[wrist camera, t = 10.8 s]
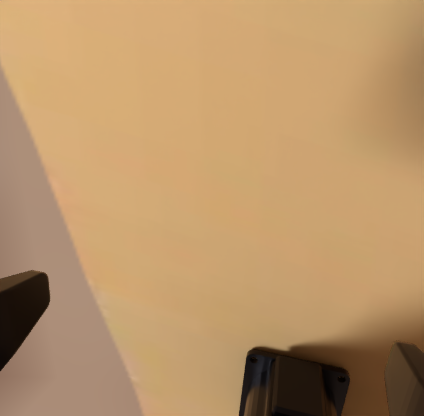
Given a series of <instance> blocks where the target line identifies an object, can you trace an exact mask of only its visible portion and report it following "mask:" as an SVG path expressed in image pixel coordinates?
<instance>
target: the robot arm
mask: <svg viewBox="0 0 424 416" xmlns="http://www.w3.org/2000/svg"><path fill="white" fill-rule="evenodd" d="M49 302H50V290H49V281H48V276H47V274H46V273H44V272H40V271H34V270H31V271H27V272H23V273H19V274H16V275H12V276H9V277H5V278H1V279H0V371H1V370H2V369H3V368H4V366H5V365H6V364H7V363H8V362H9V360H10V359H11V358H12V357H13V355H14V354H15V353H16V351H17V350H18V349H19V347H20V346H21V345H22V343H23V342H24V340H25V339H26V337H27V336H28V335H29V333H30V332H31V330H32V329H33V327H34V326H35V325H36V323H37V322H38V320H39V319H40V317H41V316H42V315H43V313H44V312H45V310H46V309H47V307H48V305H49ZM252 357H255V358H257V359H253V358H252ZM339 376H343V378H339ZM349 382H350V377H349V373H348V371H346V370H345V369H342V368H338V367H333V366H329V365H324V364H319V363H315V362H310V361H305V360H301V359H296V358H291V357H287V356H282V355H277V354H273V353H268V352H263V351H259V350H250V351H249V352H248V353H247V357H246V364H245V372H244V380H243V387H242V395H241V403H240V411H239V416H341V413H342V409H343V405H344V402H345V398H346V394H347V390H348V386H349ZM385 385H386V392H387V399H388V406H389V413H390V416H424V352H423V351H422V350H421V349H419V348H418V347H417V346H416V345H414V344H411V343H406V342H400V341H396V342H394V343H393V345H392V348H391V351H390V354H389V358H388V361H387V364H386V368H385Z"/></svg>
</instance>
